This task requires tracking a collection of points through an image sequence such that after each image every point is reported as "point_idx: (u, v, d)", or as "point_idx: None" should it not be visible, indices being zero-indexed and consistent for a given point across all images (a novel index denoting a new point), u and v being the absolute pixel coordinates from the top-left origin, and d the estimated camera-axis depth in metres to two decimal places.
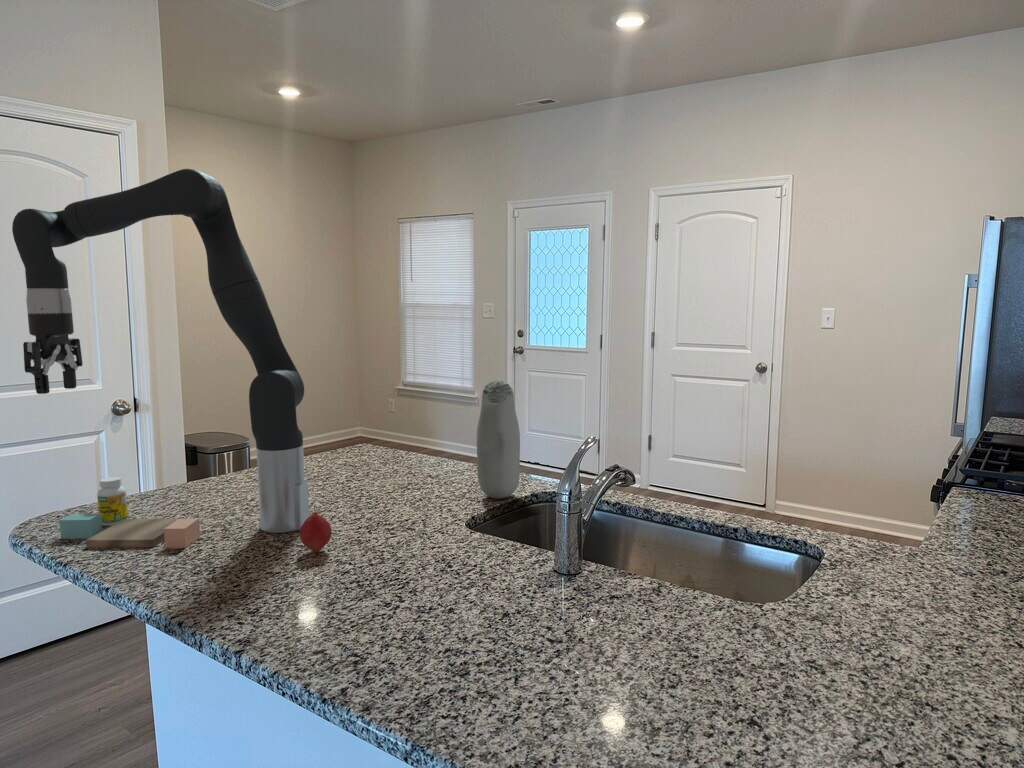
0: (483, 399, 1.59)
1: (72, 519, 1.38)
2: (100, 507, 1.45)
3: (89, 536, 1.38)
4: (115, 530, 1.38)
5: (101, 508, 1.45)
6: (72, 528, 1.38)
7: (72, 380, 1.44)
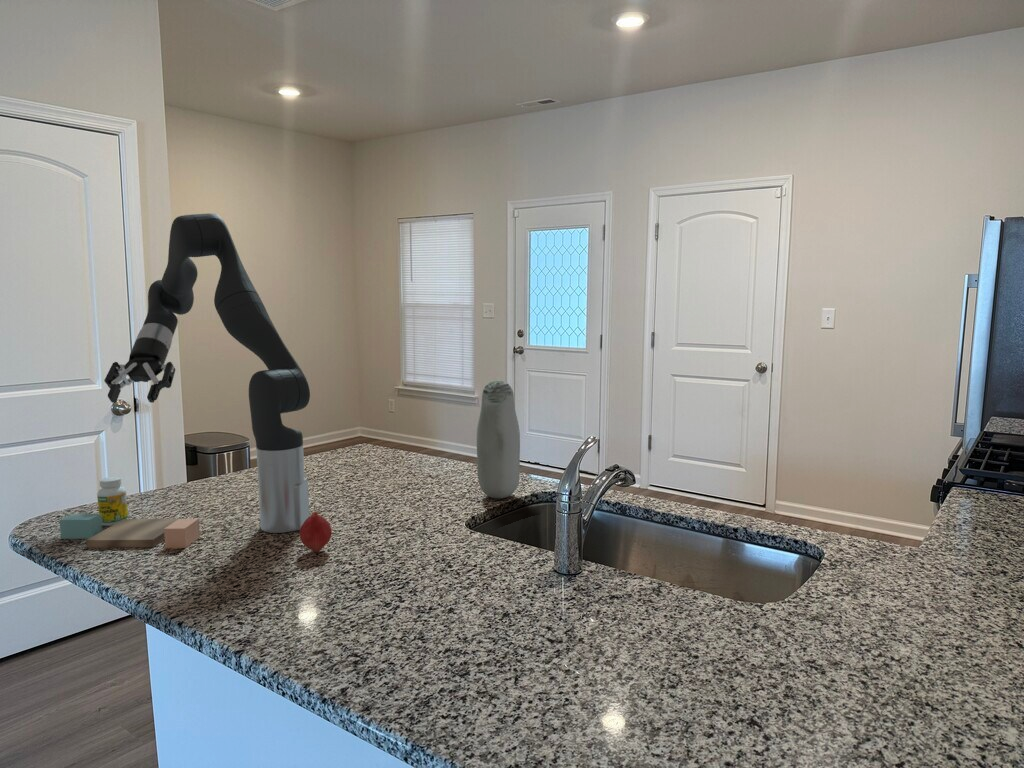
0: (483, 399, 1.59)
1: (72, 519, 1.38)
2: (100, 507, 1.45)
3: (89, 536, 1.38)
4: (115, 530, 1.38)
5: (101, 508, 1.45)
6: (72, 528, 1.38)
7: None
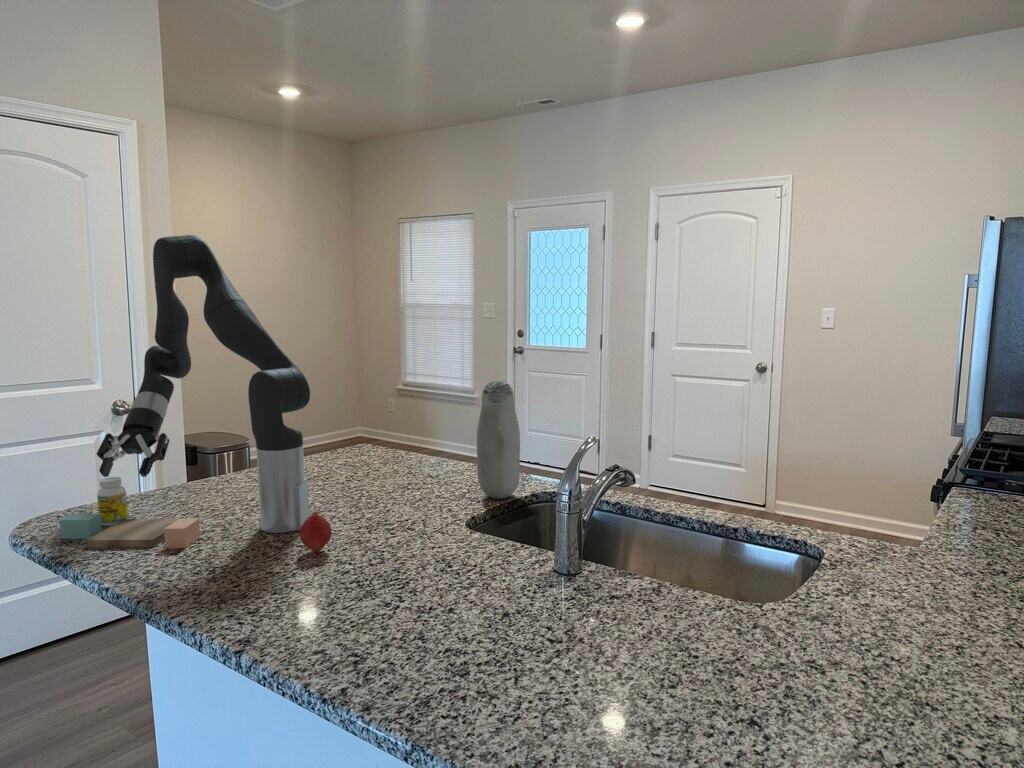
0: (483, 399, 1.59)
1: (72, 519, 1.38)
2: (100, 507, 1.45)
3: (88, 536, 1.38)
4: (115, 530, 1.38)
5: (101, 508, 1.45)
6: (72, 528, 1.38)
7: None
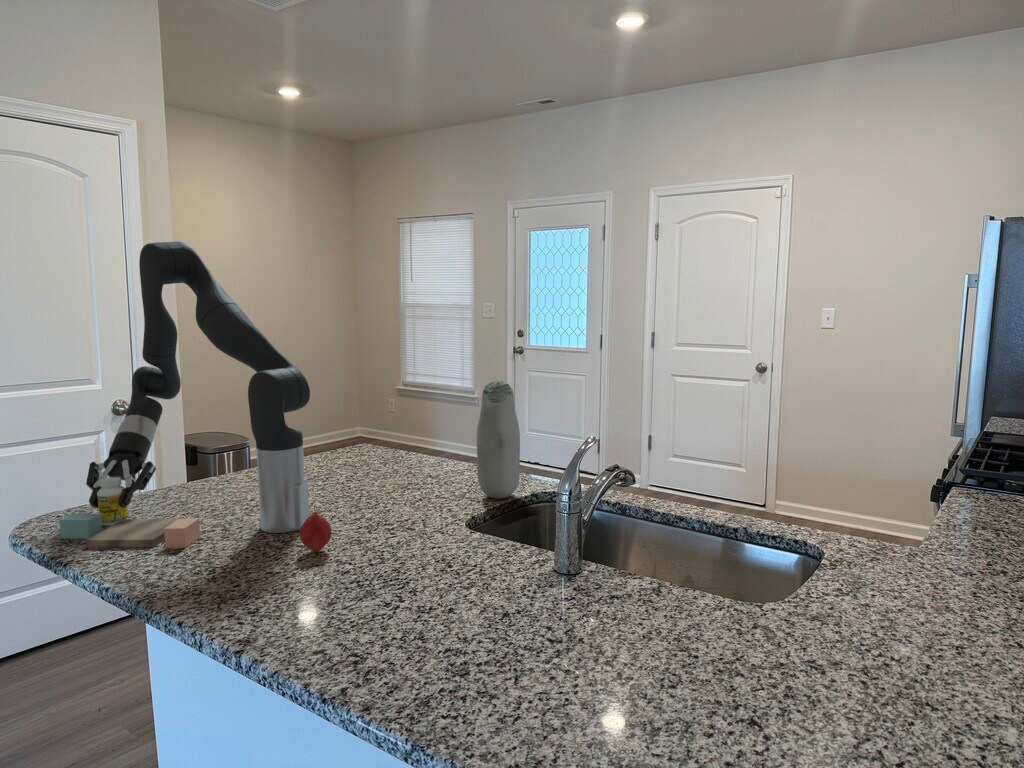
0: (483, 399, 1.59)
1: (72, 519, 1.38)
2: (100, 507, 1.45)
3: (88, 536, 1.38)
4: (115, 530, 1.38)
5: (101, 508, 1.45)
6: (72, 528, 1.38)
7: None
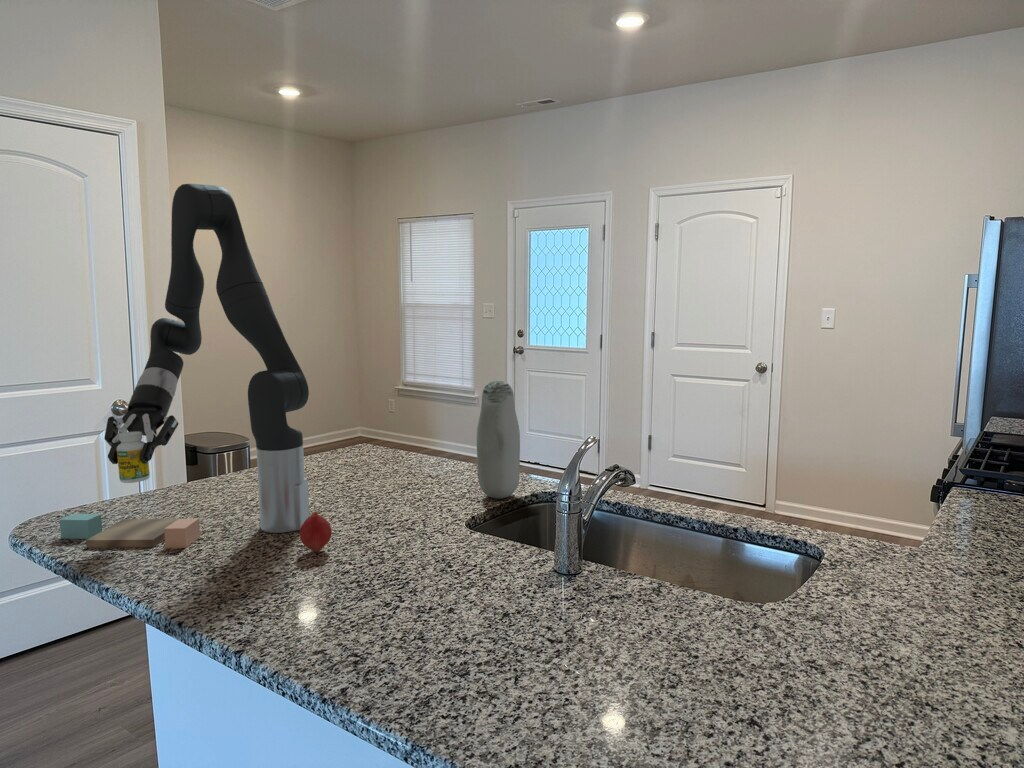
0: (483, 399, 1.59)
1: (72, 519, 1.38)
2: (120, 463, 1.35)
3: (87, 536, 1.38)
4: (115, 530, 1.38)
5: (121, 463, 1.35)
6: (72, 528, 1.38)
7: None
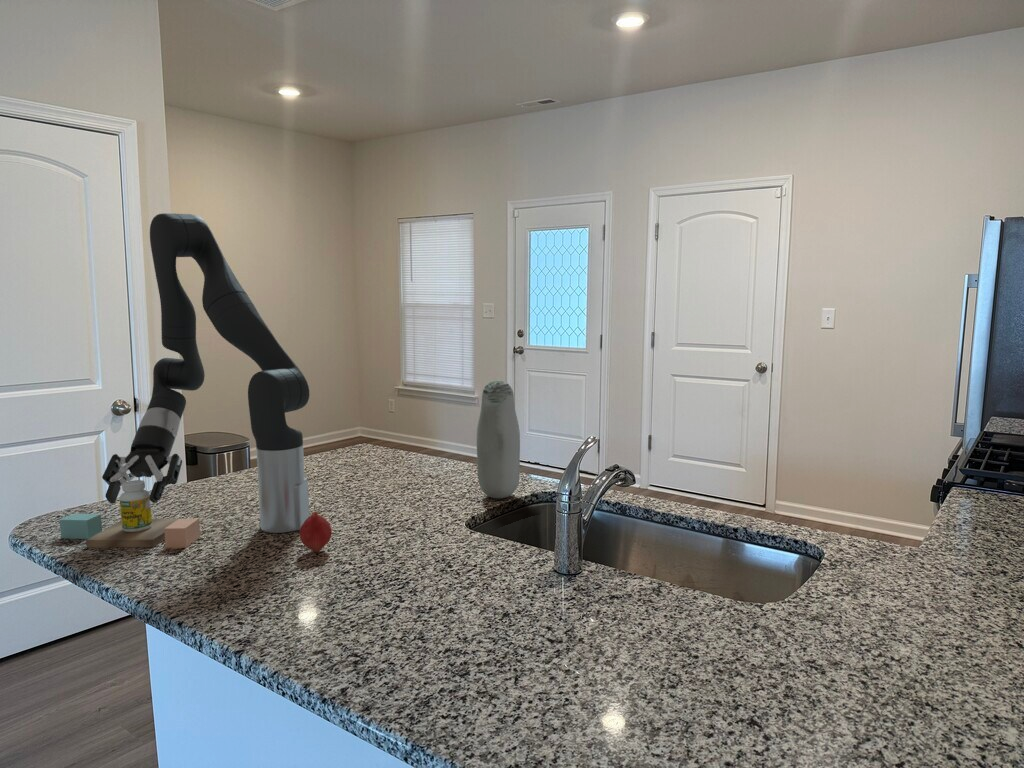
0: (483, 399, 1.59)
1: (71, 519, 1.38)
2: (123, 512, 1.36)
3: (87, 536, 1.38)
4: (115, 530, 1.38)
5: (124, 513, 1.36)
6: (71, 528, 1.38)
7: None
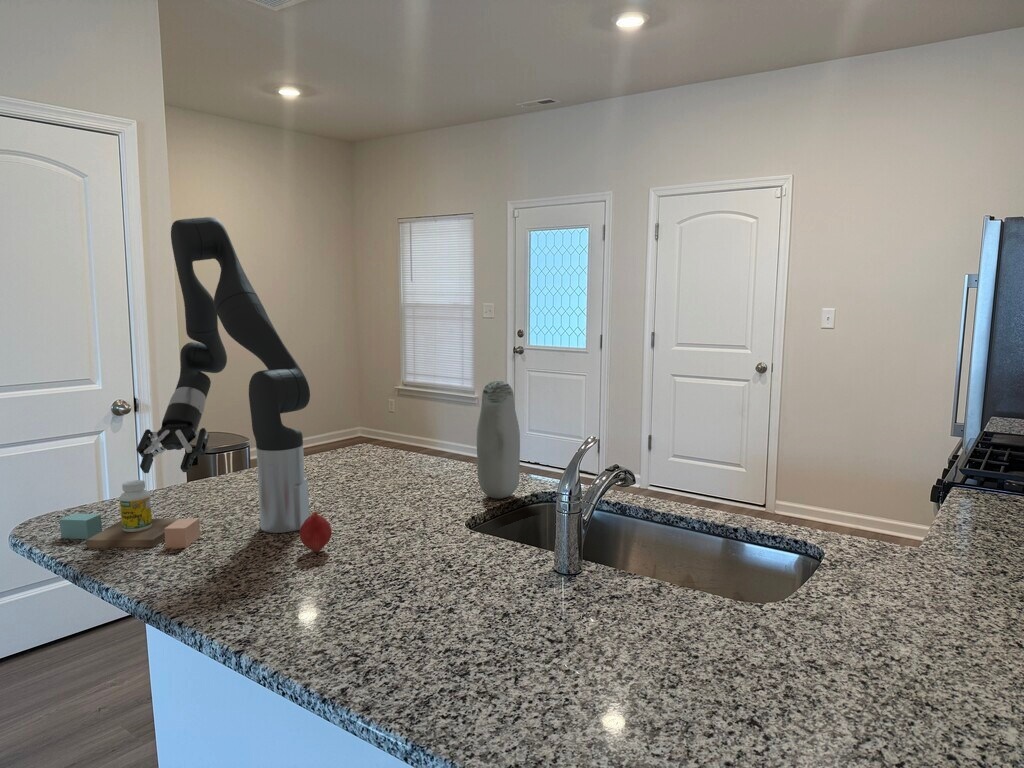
0: (483, 399, 1.59)
1: (71, 519, 1.38)
2: (123, 512, 1.36)
3: (86, 537, 1.38)
4: (115, 530, 1.38)
5: (124, 513, 1.36)
6: (71, 528, 1.38)
7: None
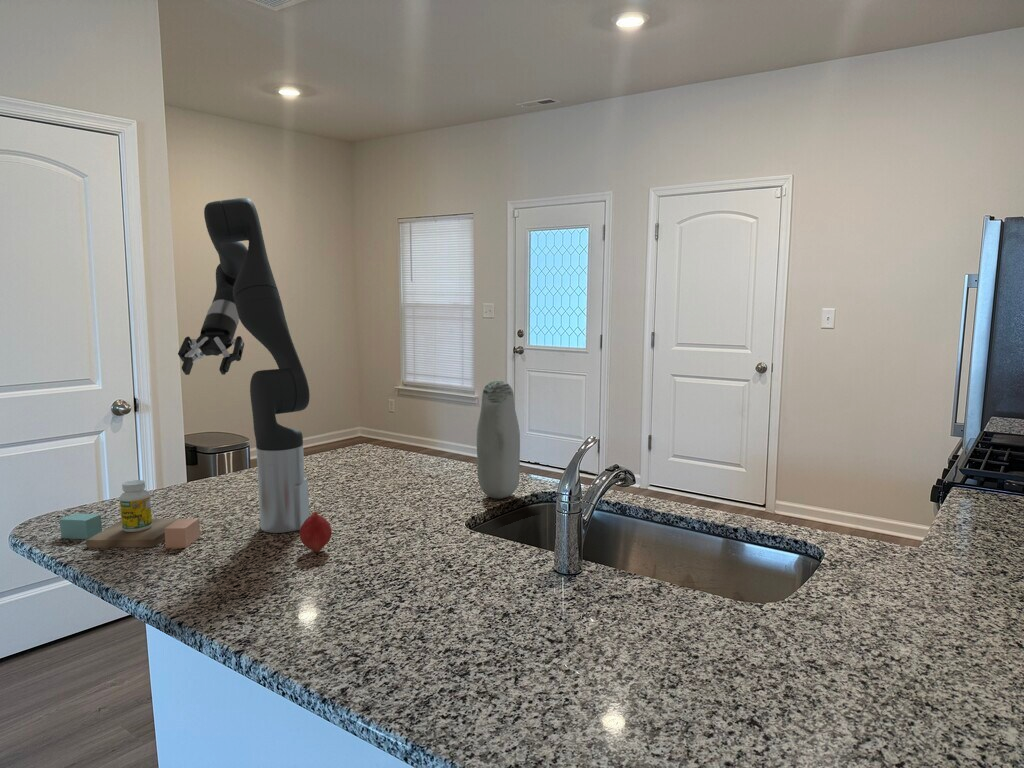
0: (483, 399, 1.59)
1: (71, 519, 1.38)
2: (123, 512, 1.36)
3: (86, 537, 1.38)
4: (115, 530, 1.38)
5: (124, 513, 1.36)
6: (71, 528, 1.38)
7: None
